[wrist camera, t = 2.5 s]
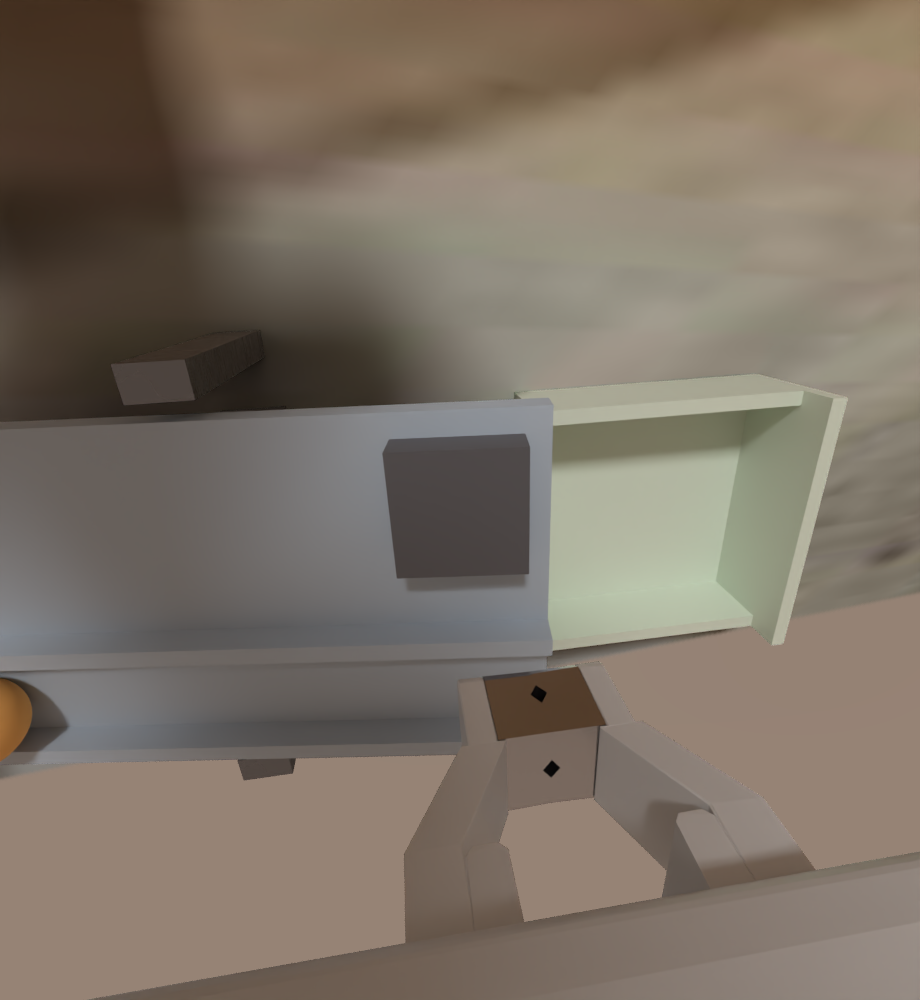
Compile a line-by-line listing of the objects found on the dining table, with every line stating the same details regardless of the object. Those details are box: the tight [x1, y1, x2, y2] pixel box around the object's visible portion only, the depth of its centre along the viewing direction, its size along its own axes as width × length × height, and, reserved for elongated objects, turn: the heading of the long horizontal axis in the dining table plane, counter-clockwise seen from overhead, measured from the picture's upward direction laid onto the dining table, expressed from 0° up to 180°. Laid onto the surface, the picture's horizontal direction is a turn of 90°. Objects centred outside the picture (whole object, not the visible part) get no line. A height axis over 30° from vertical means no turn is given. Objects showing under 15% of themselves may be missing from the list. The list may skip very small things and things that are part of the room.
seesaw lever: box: [0, 398, 554, 765], centre depth 21 cm, size 16×28×4 cm, turn 93°
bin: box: [514, 374, 848, 651], centre depth 31 cm, size 16×16×7 cm
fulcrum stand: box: [111, 330, 296, 780], centre depth 26 cm, size 20×4×11 cm, turn 3°
